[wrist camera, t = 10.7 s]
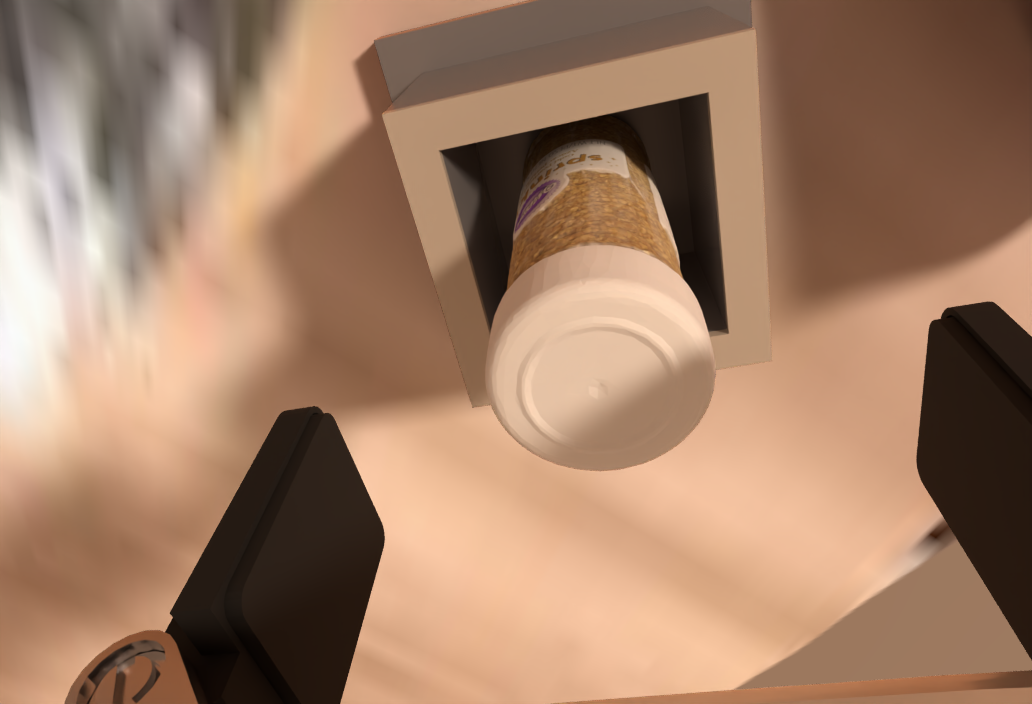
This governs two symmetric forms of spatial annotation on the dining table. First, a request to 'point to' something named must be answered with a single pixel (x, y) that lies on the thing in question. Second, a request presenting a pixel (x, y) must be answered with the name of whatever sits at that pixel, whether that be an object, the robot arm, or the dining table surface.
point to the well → (571, 97)
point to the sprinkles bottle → (596, 309)
